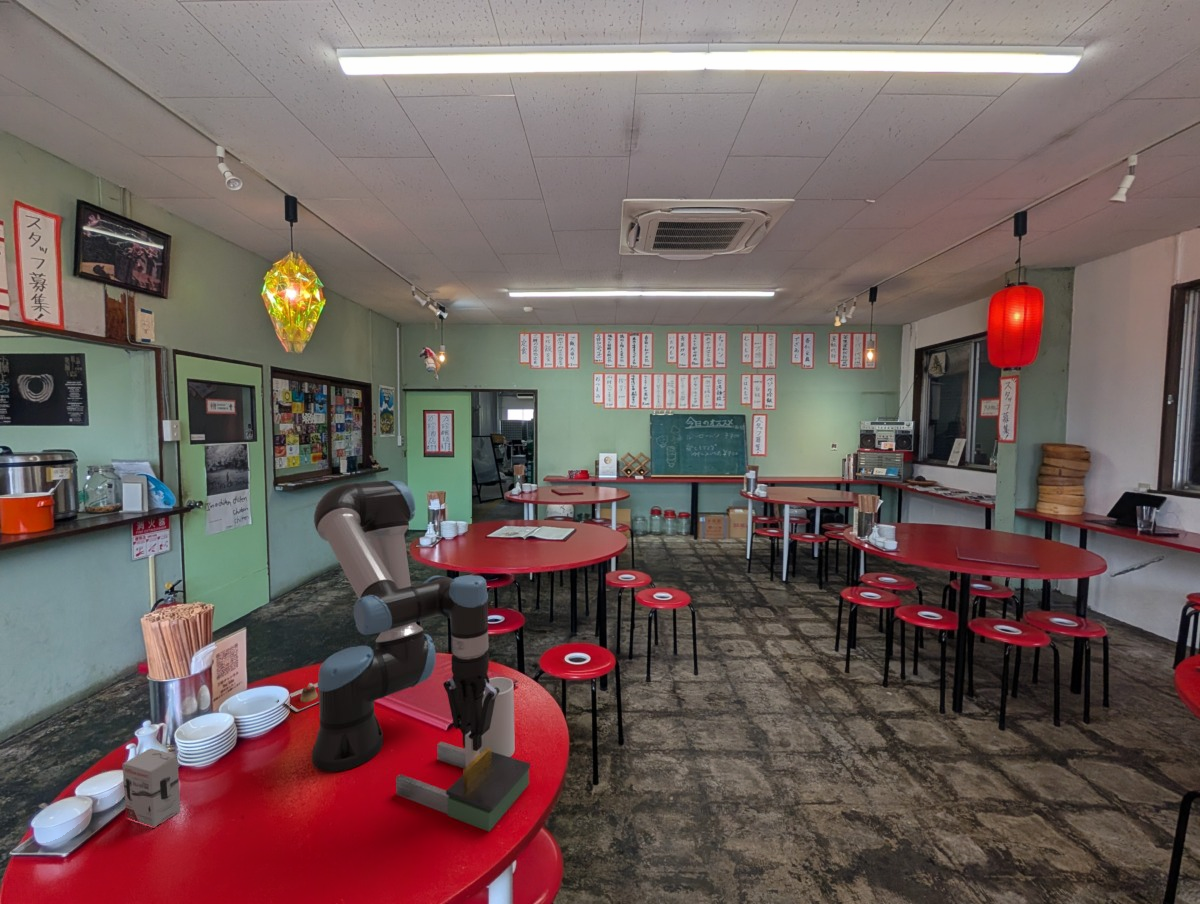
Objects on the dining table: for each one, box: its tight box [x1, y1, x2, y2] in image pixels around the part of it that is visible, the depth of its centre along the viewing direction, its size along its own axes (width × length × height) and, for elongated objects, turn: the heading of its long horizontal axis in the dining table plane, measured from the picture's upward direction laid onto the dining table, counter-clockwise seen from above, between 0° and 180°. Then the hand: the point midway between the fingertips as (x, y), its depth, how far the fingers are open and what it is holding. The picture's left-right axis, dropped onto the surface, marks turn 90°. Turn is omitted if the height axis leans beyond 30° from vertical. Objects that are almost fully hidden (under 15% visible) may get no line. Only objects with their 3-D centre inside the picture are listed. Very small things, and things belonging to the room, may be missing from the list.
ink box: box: [122, 748, 181, 827], centre depth 99 cm, size 8×5×12 cm, turn 73°
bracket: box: [395, 741, 467, 815], centre depth 107 cm, size 14×13×4 cm
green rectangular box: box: [447, 768, 530, 832], centre depth 102 cm, size 10×14×4 cm
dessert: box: [289, 682, 319, 713], centre depth 143 cm, size 12×12×5 cm
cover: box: [445, 747, 531, 811], centre depth 102 cm, size 11×14×4 cm
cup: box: [479, 676, 516, 758], centre depth 118 cm, size 8×8×16 cm
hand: (472, 763), depth 104 cm, fingers closed
